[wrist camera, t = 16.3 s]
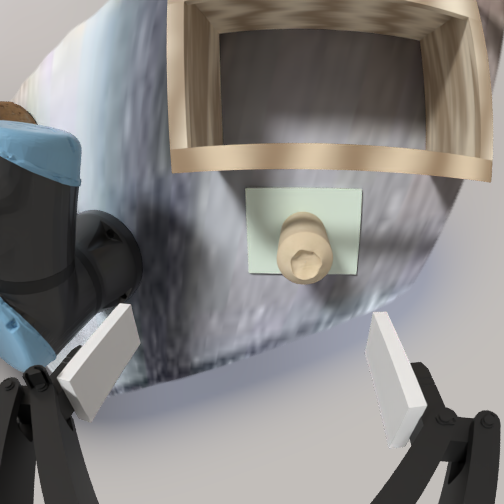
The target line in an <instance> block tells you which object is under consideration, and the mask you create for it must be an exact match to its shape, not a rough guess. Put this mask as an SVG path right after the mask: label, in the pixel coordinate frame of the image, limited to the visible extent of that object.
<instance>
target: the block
mask: <svg viewBox="0 0 504 504" xmlns="http://www.w3.org/2000/svg"><path fill="white" fill-rule="evenodd" d="M0 120H5V121H16V122H24V123H30V124H36V123H35V121H34V119H33V118H32V117H31V115H30V114H28V112H27V111H26V110H25V109H24V108H23V107H21V106H19V105H17V104H14V103H13V102H2V101H1V102H0Z"/></svg>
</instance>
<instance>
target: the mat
mask: <svg viewBox="0 0 504 504" xmlns="http://www.w3.org/2000/svg"><path fill="white" fill-rule="evenodd" d="M245 198H246V221H247V243H248V266H249V273H275V274H282V273H281V272H280V270H279V268H278V265H277V251H278V244H279V238H280V232H281V227H282V225H283V223H284V221H285V220H286V219H287V218H288V217H289V216H290V215H292V214H294V213H297V212H309V213H312V214H314V215H316V216H317V217H318V218H319V219H320V220H321V221H322V223H323V224H324V227H325V230H326V233H327V236H328V239H329V242H330V246H331V249H332V253H333V263H332V266H331V269H330V271H329V272H328V274H356V271H357V261H358V249H359V236H360V221H361V202H362V189H349V188H290V187H282V188H245Z"/></svg>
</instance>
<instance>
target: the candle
mask: <svg viewBox="0 0 504 504" xmlns="http://www.w3.org/2000/svg"><path fill="white" fill-rule="evenodd" d="M332 263H333V253H332V249H331V246H330V242H329V239H328V236H327V233H326V230H325V227H324V224H323V223H322V221H321V220H320V219H319V218H318V217H317V216H316V215H314V214H312V213H309V212H297V213H294V214H292V215H290V216H289V217H288V218H287V219H286V220H285V221H284V223H283V225H282V227H281V232H280V238H279V244H278V251H277V265H278V268H279V270H280V272H281V273H282V274H283V276H284V277H285V278H287V279H288V280H290V281H291V282H294V283H297V284H312V283H315V282H317V281H319V280H321V279H322V278H324V277H325V276H326V275H327V274H328V272H329V271H330V269H331V266H332Z"/></svg>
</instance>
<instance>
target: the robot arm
mask: <svg viewBox="0 0 504 504" xmlns="http://www.w3.org/2000/svg"><path fill="white" fill-rule="evenodd" d="M80 165H81V145H80V142H79V141H78V139H77V138H76V137H75V136H74V135H72V134H71V133H68V132H66V131H63V130H59V129H55V128H51V127H46V126H41V125H36V124H30V123H24V122H16V121H5V120H0V357H1V358H2V359H3V360H4V361H5V362H6V363H8V364H9V365H11V366H12V367H13V368H15V369H17V370H19V371H21V372H23V379H24V380H25V382H26V384H27V386H21V384H20V382H19V381H18V379H16V378H12V377H11V378H7V379H6V380H4V381H3V382H1V384H0V504H33V500H34V499H33V497H34V479H35V465H36V461H37V468H38V473H39V478H40V483H41V488H42V493H43V497H44V502H45V504H99V503H98V500H97V497H96V495H95V492H94V490H93V486H92V484H91V481H90V478H89V474H88V471H87V468H86V465H85V462H84V458H83V455H82V452H81V448H80V444H79V440H78V437H77V433H76V428H75V424H74V420H73V418H72V416H71V415H72V413H73V412H74V411H75V413H76V414H77V416H78V418H79V419H82V420H85V421H88V422H92V420H93V419H94V417H95V416H96V414H97V412H98V411H99V409H100V407H101V406H102V404H103V402H104V401H105V399H106V398H107V396H108V394H109V393H110V391H111V389H112V388H113V386H114V385H115V383H116V381H117V380H118V378H119V377H120V375H121V373H122V372H123V370H124V369H125V367H126V365H127V364H128V362H129V361H130V359H131V357H132V356H133V354H134V353H135V351H136V350H137V348H138V347H139V345H140V339H139V335H138V331H137V327H136V323H135V319H134V315H133V311H132V307H131V304H123V303H124V302H125V301H127V300H128V299H129V298H130V296H131V295H132V294H133V293H134V292H135V291H136V290H137V288H138V286H139V284H140V281H141V277H142V259H141V255H140V251H139V248H138V246H137V243H136V241H135V239H134V237H133V236H132V234H131V233H130V231H129V230H128V229H127V228H126V226H125V225H124V224H123V223H122V222H120V221H119V220H118V219H117V218H115V217H114V216H112V215H110V214H108V213H106V212H103V211H98V210H89V211H85V212H82V213H80V214H78V215H77V201H78V191H79V186H80V185H81V179H80ZM114 307H116V308H115V309H114V310H113V311H112V312H111V314H110V315H109V316H108V317H107V318H106V319H105V320H104V322H103V323H102V324H101V325H100V326H99V327H98V328H97V330H96V331H95V332H94V333H93V334H92V335H91V337H90V338H89V339H88V340H87V341H86V342H85V344H84V345H83V346H81V345H79V346H77V347H76V348H74V349H73V350H71V352H70V353H69V354H68V355H67V357H66V358H65V359H64V360H63V361H62V362H61V363H60V365H59V366H58V367H57V368H56V369H55V371H54V372H53V373H52V374H51V375H50V376H49V375H48V372H47V371H46V368H45V367H46V366H47V365H48V364H49V363H50V362H51V361H54V360H55V359H56V356H57V355H58V354H59V352H60V351H61V350H62V349H63V348H64V347H65V346H66V345H67V344H68V343H69V342H70V341H71V340H72V339H73V337H74V336H75V335H76V334H77V333H78V332H79V331H80V330H81V329H82V328H83V327H84V326H85V325H86V324H87V323H88V322H89V321H90V320H91V319H92V318H93V317H94V316H95V315H96V314H97V313H100V312H103V311H105V310H108V309H111V308H114ZM365 356H366V359H367V363H368V367H369V370H370V374H371V378H372V381H373V385H374V389H375V393H376V397H377V401H378V405H379V409H380V413H381V417H382V421H383V426H384V430H385V434H386V438H387V443H388V448H389V449H391V448H397V447H404V446H406V444H407V442H408V441H409V439H410V442H411V447H410V449H409V450H408V452H407V454H406V455H405V457H404V458H403V460H402V461H401V463H400V464H399V466H398V467H397V469H396V470H395V471H394V473H393V474H392V476H391V477H390V479H389V480H388V481H387V483H386V484H385V485H384V487H383V488H382V490H381V491H380V492H379V493H378V495H377V496H376V497H375V498H374V500H373V501H372V502H371V503H370V504H416V502H417V500H418V499H419V498H420V496H421V494H422V493H423V491H424V489H425V488H426V486H427V484H428V482H429V481H430V479H431V477H432V475H433V474H434V472H435V470H436V468H437V466H438V464H439V462H440V461H446V462H448V466H447V472H446V476H445V480H444V484H443V488H442V492H441V496H440V500H439V503H438V504H495V497H496V490H497V481H498V471H499V457H500V419H499V418H498V416H497V415H496V414H495V413H493V412H491V411H481V412H479V413H478V414H477V415H476V416H475V418H462V417H457V415H456V413H455V412H454V411H453V410H451V409H449V408H446V407H445V405H444V403H443V401H442V398H441V396H440V394H439V392H438V389H437V387H436V385H435V383H434V380H433V378H432V376H431V374H430V372H429V370H428V368H427V367H426V366H425V365H424V364H422V363H421V362H416V363H410V362H409V360H408V357H407V355H406V353H405V351H404V348H403V346H402V344H401V342H400V339H399V337H398V335H397V333H396V331H395V329H394V326H393V324H392V322H391V320H390V318H389V316H388V314H387V312H373V315H372V320H371V326H370V331H369V335H368V340H367V345H366V350H365Z"/></svg>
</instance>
